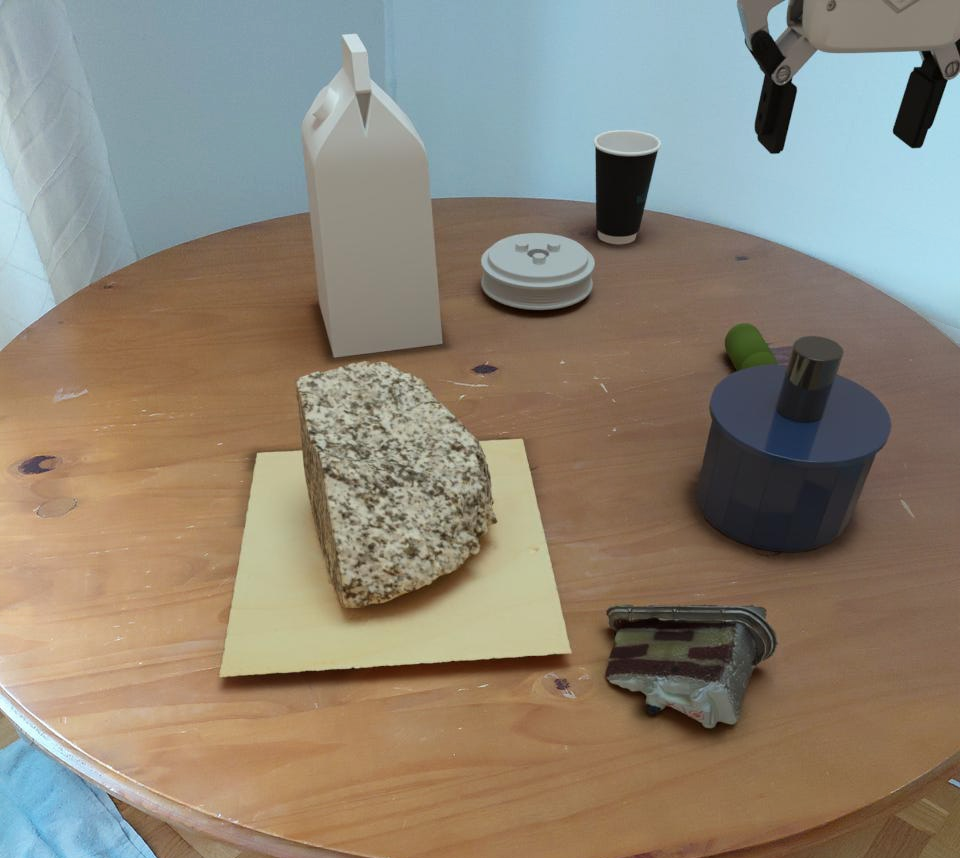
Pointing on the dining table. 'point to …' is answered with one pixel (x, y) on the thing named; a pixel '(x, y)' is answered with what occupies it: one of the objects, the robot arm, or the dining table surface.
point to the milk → (370, 215)
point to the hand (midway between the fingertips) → (837, 144)
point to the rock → (389, 538)
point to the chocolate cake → (689, 656)
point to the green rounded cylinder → (747, 347)
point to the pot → (775, 498)
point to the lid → (537, 271)
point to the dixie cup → (622, 182)
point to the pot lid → (801, 410)
